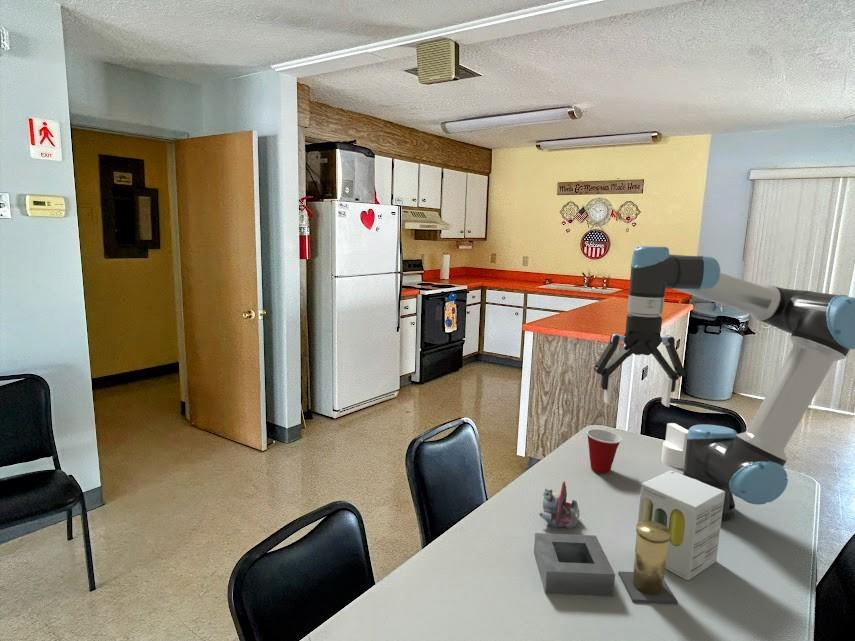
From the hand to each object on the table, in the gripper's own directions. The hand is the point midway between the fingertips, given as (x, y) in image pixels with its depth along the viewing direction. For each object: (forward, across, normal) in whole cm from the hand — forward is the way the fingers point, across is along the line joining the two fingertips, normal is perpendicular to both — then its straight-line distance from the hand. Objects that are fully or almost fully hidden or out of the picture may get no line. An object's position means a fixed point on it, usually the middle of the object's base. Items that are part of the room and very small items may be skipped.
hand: (636, 404), depth 123 cm
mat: (+35, -1, -18) cm, 39 cm away
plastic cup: (+35, +6, +39) cm, 53 cm away
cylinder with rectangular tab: (+35, +33, +47) cm, 67 cm away
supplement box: (+35, +10, -6) cm, 37 cm away
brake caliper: (+35, -14, +8) cm, 38 cm away
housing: (+35, -16, -14) cm, 41 cm away
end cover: (+34, -1, -18) cm, 39 cm away
